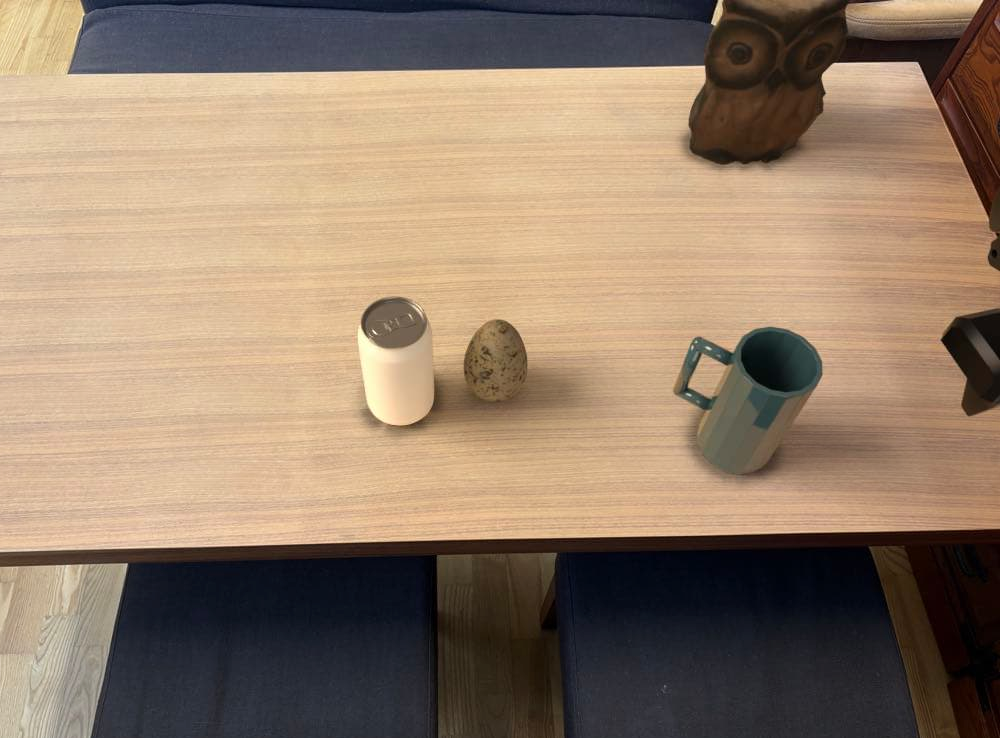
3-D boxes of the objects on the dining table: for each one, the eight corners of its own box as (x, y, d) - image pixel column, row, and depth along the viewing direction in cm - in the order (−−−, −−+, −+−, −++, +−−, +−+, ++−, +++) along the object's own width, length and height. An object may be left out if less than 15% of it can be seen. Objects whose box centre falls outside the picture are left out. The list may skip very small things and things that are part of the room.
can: (357, 384, 83) (344, 305, 72) (419, 363, 84) (415, 283, 74) (381, 437, 79) (370, 362, 69) (444, 414, 81) (444, 338, 71)
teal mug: (782, 433, 80) (835, 352, 69) (752, 487, 77) (802, 410, 66) (682, 381, 83) (717, 295, 72) (649, 430, 80) (681, 348, 69)
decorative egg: (515, 359, 84) (522, 294, 76) (531, 409, 81) (540, 346, 73) (457, 370, 84) (457, 305, 75) (470, 420, 80) (473, 358, 72)
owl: (810, 146, 102) (881, -13, 85) (744, 195, 97) (806, 37, 80) (727, 95, 107) (779, -65, 90) (661, 139, 102) (702, -21, 85)
